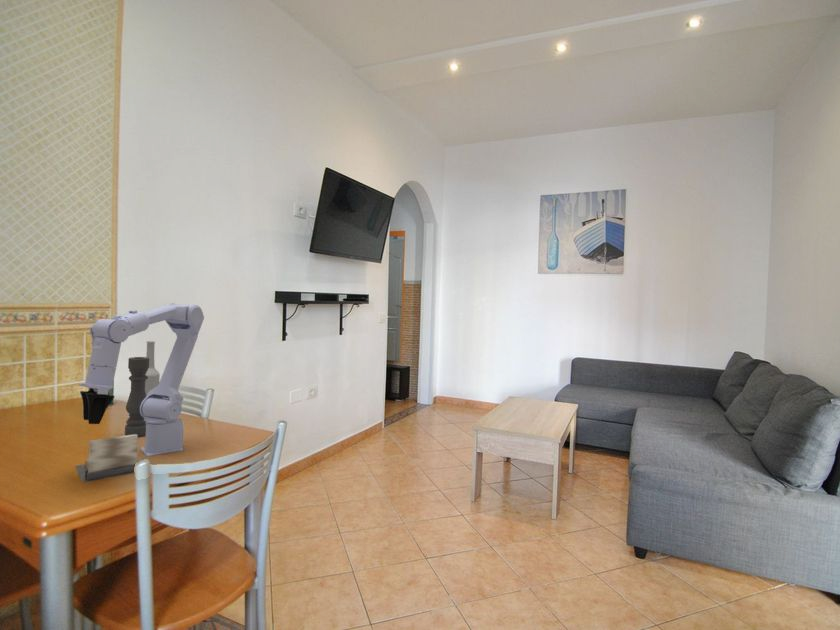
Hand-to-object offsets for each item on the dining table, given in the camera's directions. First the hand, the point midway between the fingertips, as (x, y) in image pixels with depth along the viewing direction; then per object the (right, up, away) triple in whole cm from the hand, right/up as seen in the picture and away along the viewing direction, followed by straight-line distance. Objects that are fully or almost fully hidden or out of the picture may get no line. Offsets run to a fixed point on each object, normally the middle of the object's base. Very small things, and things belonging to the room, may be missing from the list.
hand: (91, 421), depth 111 cm
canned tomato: (-46, -10, +68) cm, 82 cm away
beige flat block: (+3, -14, +3) cm, 14 cm away
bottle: (-19, -12, +55) cm, 59 cm away
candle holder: (-10, -13, +34) cm, 38 cm away
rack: (0, -14, +6) cm, 15 cm away
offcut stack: (-2, -13, +9) cm, 16 cm away
